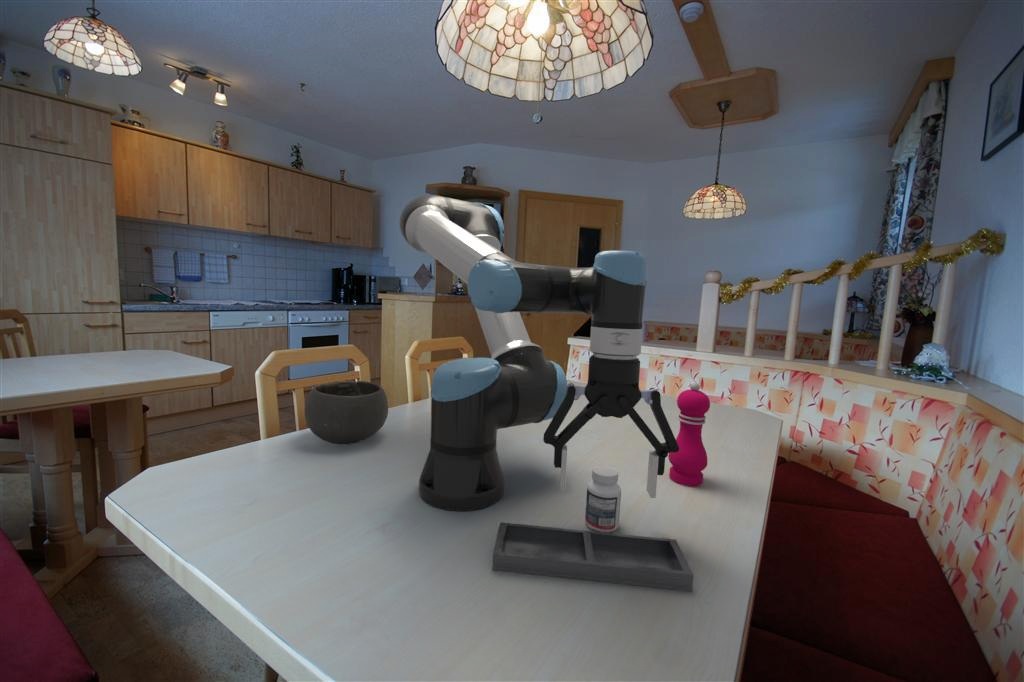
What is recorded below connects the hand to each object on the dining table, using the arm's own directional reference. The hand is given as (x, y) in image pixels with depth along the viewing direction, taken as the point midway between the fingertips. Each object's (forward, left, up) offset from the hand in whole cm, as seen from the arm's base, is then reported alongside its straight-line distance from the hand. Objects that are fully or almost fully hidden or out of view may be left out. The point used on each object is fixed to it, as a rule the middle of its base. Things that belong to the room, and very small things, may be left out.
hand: (606, 490), depth 66 cm
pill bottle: (0, 0, -6) cm, 6 cm away
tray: (-3, -10, -6) cm, 12 cm away
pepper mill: (+19, +20, -6) cm, 28 cm away
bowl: (-55, +26, -6) cm, 62 cm away
